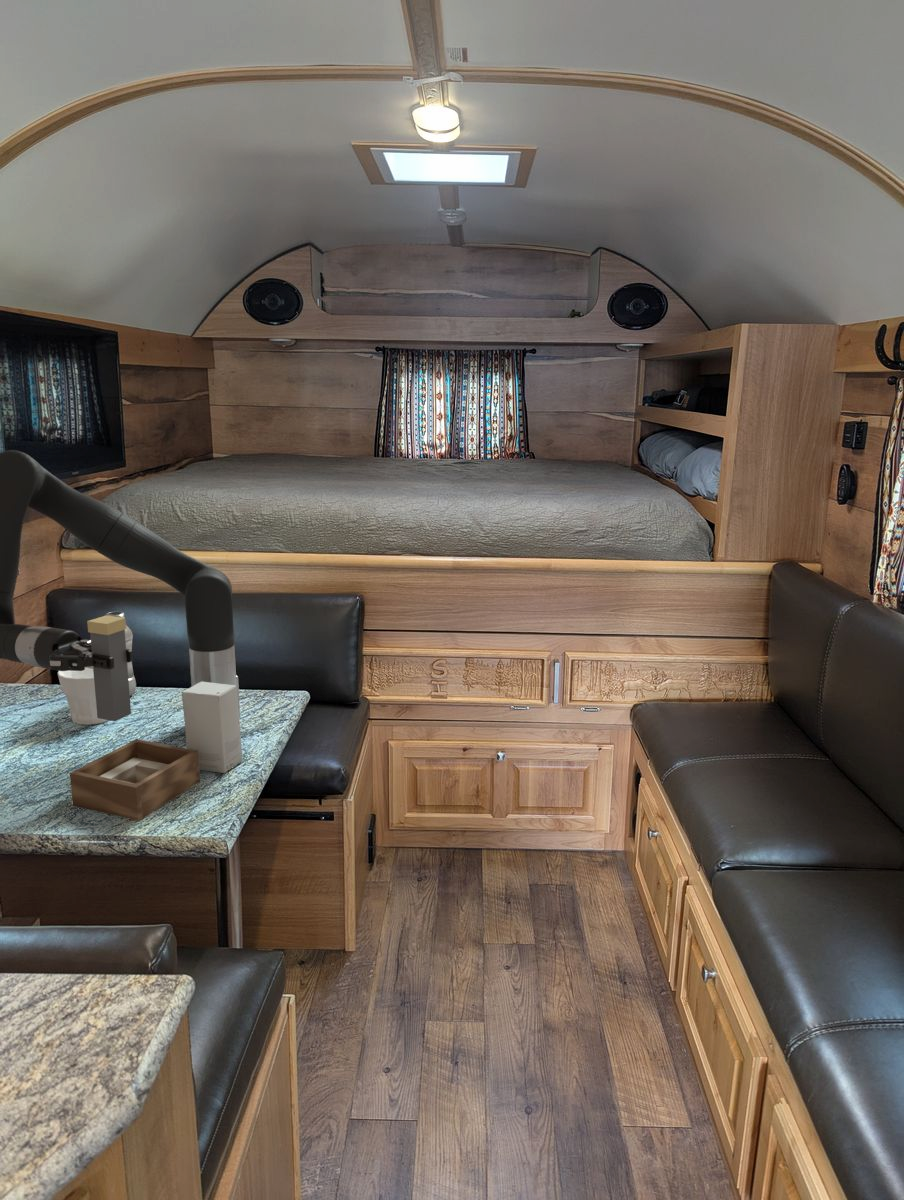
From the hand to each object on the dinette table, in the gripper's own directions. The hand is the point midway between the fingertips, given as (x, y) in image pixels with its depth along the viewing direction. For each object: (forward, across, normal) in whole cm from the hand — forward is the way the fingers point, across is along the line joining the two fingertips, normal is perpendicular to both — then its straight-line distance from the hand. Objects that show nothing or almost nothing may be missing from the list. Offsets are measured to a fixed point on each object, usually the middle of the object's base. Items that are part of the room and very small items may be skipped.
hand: (121, 659), depth 148 cm
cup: (-29, +21, +23) cm, 43 cm away
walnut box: (+5, -4, +23) cm, 24 cm away
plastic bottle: (-33, +34, +23) cm, 53 cm away
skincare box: (+10, +11, +23) cm, 27 cm away
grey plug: (-3, 0, +11) cm, 11 cm away
